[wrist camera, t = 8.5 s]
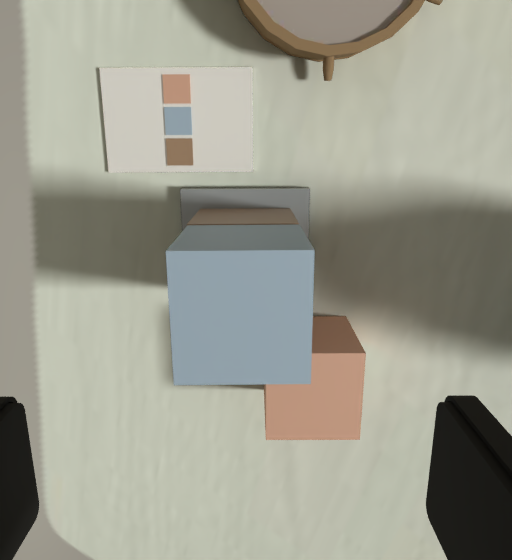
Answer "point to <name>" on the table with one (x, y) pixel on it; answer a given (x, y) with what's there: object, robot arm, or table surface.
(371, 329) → the table surface
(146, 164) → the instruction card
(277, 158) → the table surface
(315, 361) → the terracotta block
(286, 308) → the blue block
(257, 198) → the base
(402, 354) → the table surface
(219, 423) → the table surface
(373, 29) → the alarm clock
